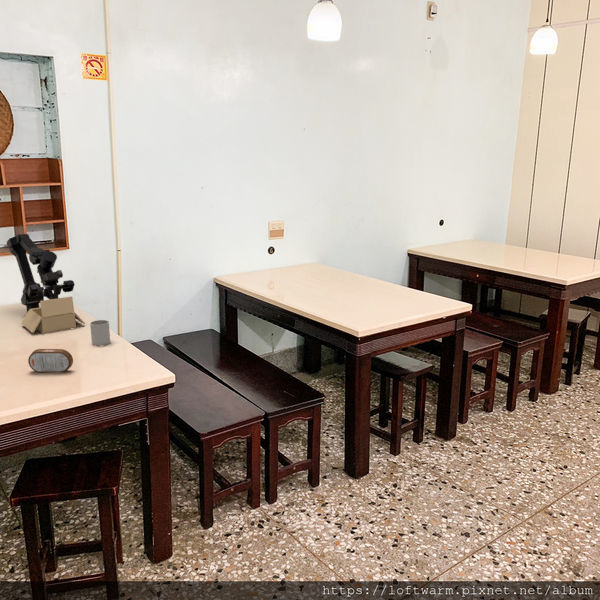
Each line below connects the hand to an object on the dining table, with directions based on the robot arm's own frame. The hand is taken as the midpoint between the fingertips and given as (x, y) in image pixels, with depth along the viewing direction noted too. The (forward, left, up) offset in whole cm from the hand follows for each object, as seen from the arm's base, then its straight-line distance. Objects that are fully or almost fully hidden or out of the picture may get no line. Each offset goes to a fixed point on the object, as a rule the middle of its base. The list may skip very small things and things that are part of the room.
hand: (56, 304), depth 258 cm
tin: (+49, -18, -12) cm, 53 cm away
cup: (+27, +8, -12) cm, 30 cm away
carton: (-11, 0, -12) cm, 16 cm away
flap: (+1, 0, -1) cm, 1 cm away
